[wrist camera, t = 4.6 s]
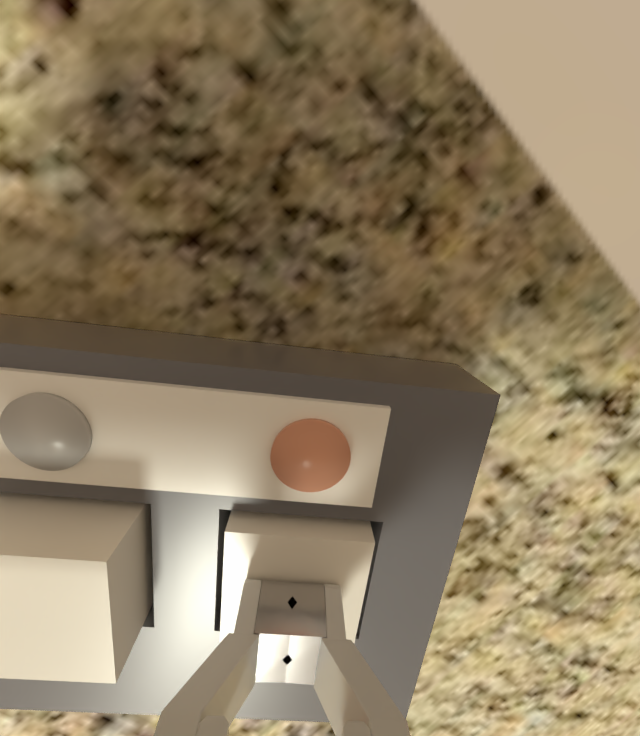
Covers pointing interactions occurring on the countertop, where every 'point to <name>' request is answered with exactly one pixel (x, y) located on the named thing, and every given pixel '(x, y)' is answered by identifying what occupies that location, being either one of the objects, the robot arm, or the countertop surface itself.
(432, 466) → the button board
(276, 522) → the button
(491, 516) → the countertop surface
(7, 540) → the button middle
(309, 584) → the robot arm
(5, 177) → the countertop surface
